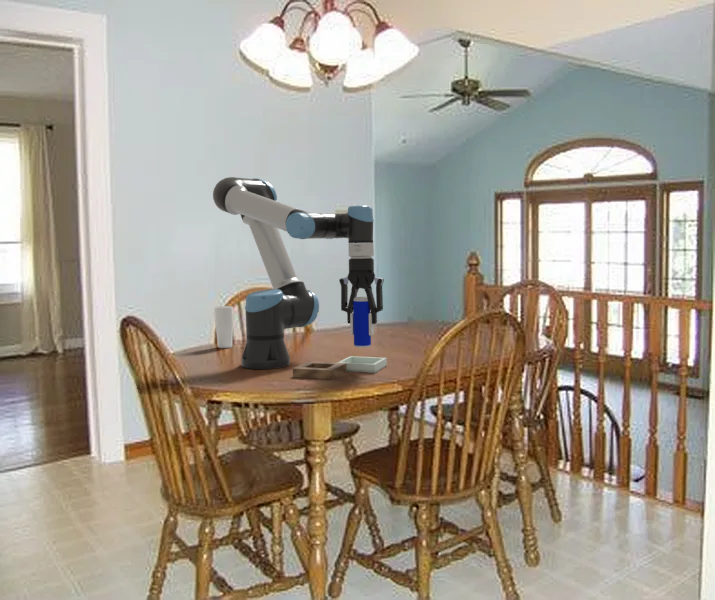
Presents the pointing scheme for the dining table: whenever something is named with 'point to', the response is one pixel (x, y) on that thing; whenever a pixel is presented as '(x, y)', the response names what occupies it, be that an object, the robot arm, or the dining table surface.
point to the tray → (364, 364)
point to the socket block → (319, 370)
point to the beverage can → (361, 322)
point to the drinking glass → (224, 326)
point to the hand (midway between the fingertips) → (362, 334)
